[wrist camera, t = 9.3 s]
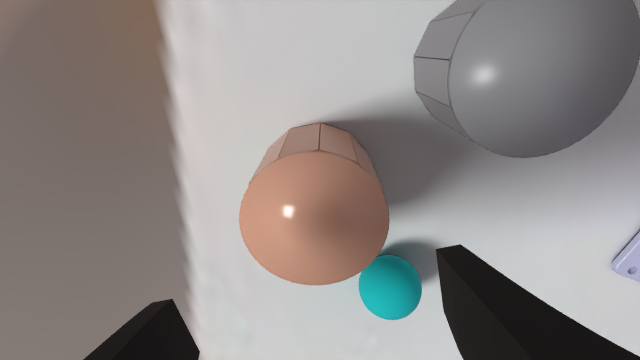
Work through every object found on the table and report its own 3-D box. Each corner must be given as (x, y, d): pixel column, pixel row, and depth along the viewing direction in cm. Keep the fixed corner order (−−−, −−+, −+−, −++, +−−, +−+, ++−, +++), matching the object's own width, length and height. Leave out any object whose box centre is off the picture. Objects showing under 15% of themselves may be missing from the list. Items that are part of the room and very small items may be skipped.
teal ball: (422, 254, 19) (442, 294, 16) (397, 296, 20) (410, 341, 17) (370, 235, 19) (379, 273, 16) (347, 279, 20) (351, 323, 17)
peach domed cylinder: (389, 144, 17) (414, 182, 12) (349, 237, 19) (357, 300, 14) (279, 107, 16) (260, 131, 11) (250, 208, 18) (224, 263, 14)
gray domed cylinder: (569, 24, 15) (684, 13, 10) (496, 143, 17) (562, 180, 12) (453, -32, 14) (518, -73, 9) (391, 100, 16) (419, 122, 11)
